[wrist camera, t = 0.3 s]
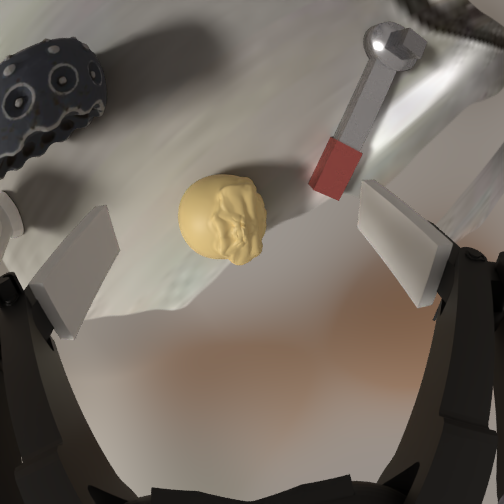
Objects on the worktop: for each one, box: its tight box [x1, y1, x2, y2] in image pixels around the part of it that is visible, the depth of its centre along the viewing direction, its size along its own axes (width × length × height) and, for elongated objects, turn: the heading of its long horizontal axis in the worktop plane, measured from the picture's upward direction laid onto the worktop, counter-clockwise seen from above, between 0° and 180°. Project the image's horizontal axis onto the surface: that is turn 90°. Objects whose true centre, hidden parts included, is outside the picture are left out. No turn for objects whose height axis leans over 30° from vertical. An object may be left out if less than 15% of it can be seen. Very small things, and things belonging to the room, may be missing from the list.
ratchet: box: [308, 22, 427, 201], centre depth 32 cm, size 30×8×8 cm, turn 158°
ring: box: [0, 37, 107, 180], centre depth 23 cm, size 11×20×20 cm, turn 108°
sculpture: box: [178, 174, 267, 265], centre depth 38 cm, size 11×12×11 cm
